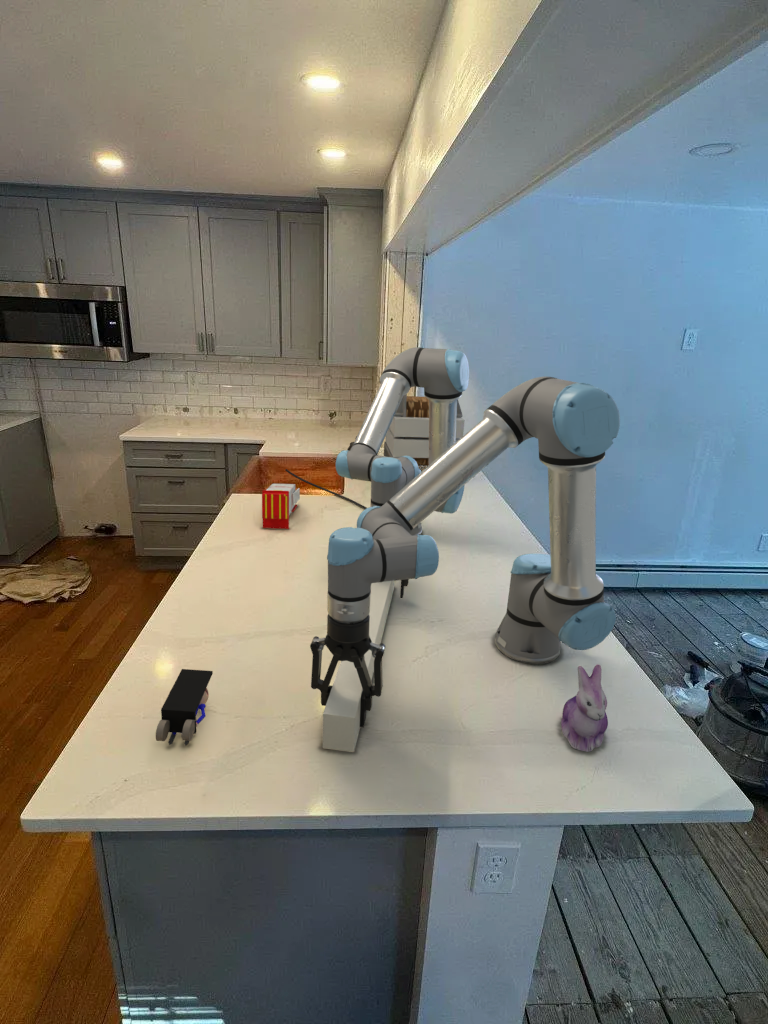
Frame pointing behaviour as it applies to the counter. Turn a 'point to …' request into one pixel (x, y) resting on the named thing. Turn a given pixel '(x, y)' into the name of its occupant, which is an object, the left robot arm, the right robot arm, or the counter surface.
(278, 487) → the toy
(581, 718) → the figurine
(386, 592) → the bar
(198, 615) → the counter surface
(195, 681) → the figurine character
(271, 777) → the counter surface
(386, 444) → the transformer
